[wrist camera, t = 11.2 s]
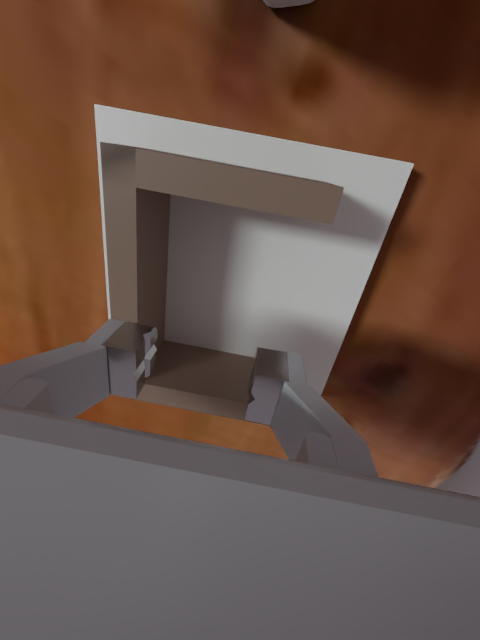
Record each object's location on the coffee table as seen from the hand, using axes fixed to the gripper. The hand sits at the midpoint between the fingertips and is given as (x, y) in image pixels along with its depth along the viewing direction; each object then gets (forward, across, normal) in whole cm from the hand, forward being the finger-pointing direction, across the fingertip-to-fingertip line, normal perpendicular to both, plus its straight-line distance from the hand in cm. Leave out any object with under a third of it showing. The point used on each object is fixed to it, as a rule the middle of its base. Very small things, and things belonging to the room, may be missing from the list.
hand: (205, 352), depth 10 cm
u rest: (+8, 0, 0) cm, 8 cm away
